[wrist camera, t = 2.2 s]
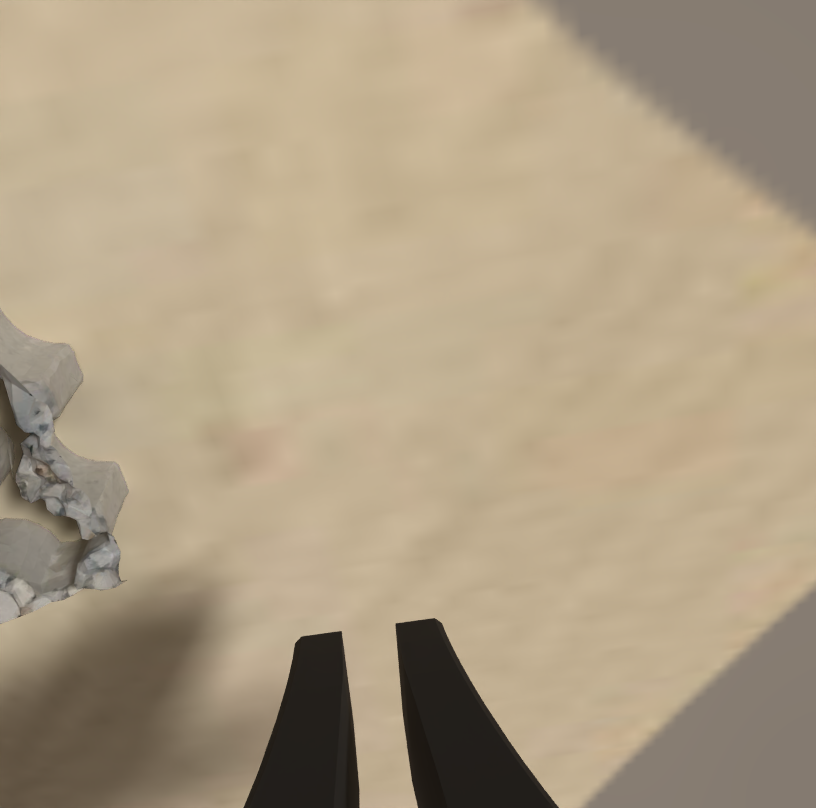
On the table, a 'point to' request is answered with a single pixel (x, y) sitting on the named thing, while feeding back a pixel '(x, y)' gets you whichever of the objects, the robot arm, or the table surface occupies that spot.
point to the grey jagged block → (52, 484)
